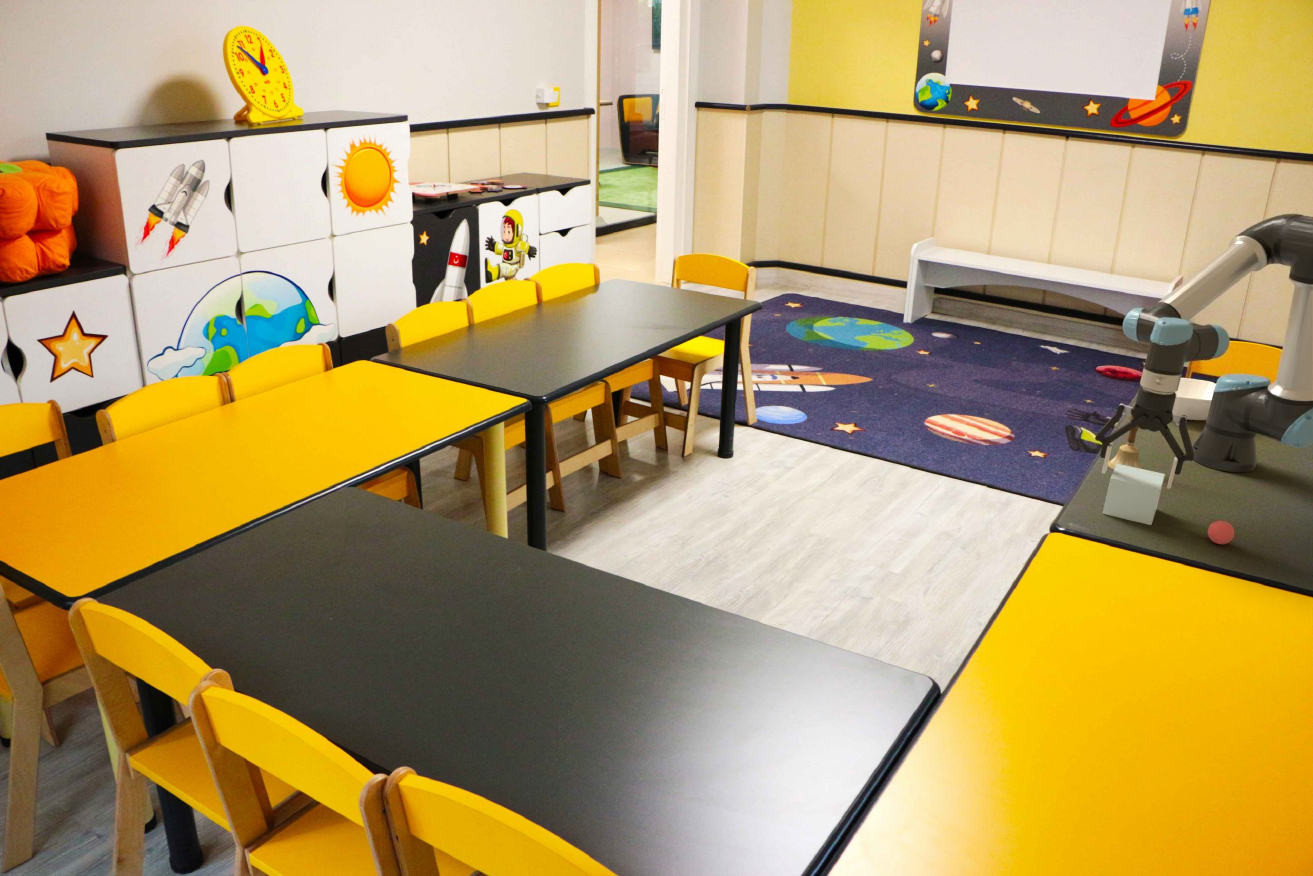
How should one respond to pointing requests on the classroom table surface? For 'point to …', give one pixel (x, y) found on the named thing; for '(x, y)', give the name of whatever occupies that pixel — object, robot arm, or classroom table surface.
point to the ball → (1221, 532)
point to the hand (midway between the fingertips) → (1136, 479)
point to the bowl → (1193, 398)
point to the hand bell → (1127, 452)
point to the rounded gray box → (1133, 494)
